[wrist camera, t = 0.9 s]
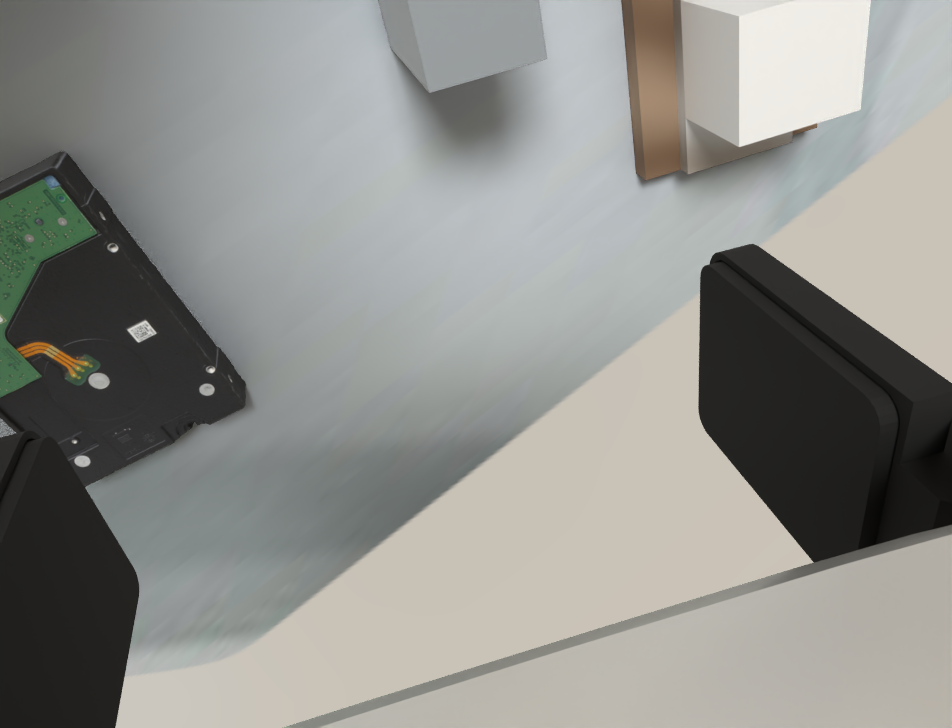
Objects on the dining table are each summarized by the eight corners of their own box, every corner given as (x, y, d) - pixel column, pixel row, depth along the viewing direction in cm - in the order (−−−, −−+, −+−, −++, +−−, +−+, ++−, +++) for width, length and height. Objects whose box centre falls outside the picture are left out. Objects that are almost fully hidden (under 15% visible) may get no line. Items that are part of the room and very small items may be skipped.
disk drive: (250, 376, 42) (64, 142, 33) (251, 405, 40) (51, 162, 31) (88, 460, 42) (-140, 249, 33) (79, 493, 40) (-167, 277, 31)
